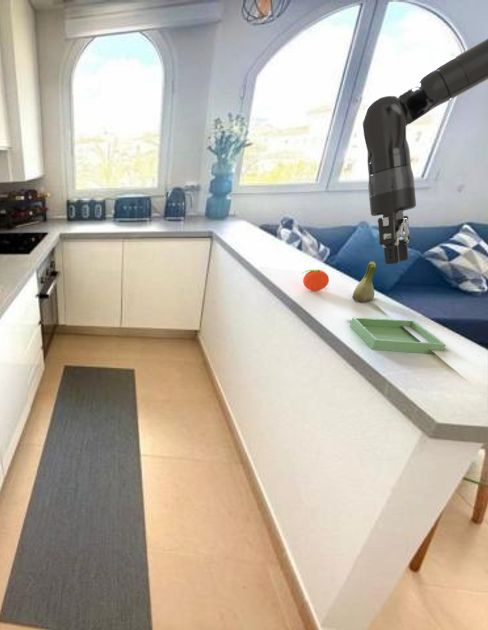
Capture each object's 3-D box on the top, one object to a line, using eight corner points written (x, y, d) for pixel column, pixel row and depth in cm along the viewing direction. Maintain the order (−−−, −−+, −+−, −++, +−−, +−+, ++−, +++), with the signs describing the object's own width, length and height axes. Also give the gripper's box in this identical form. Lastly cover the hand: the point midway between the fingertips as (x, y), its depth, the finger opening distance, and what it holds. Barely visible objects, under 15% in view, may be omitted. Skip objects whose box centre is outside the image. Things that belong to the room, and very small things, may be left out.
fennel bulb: (357, 296, 108) (369, 259, 103) (375, 301, 104) (389, 263, 99) (347, 300, 106) (359, 263, 100) (365, 305, 102) (379, 267, 96)
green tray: (410, 329, 88) (413, 320, 87) (441, 354, 78) (446, 344, 77) (349, 325, 92) (352, 317, 91) (371, 349, 82) (375, 340, 80)
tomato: (295, 291, 114) (300, 270, 111) (298, 284, 119) (303, 264, 116) (325, 295, 110) (330, 274, 107) (326, 288, 115) (332, 268, 112)
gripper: (406, 184, 71) (413, 262, 72) (421, 187, 79) (426, 257, 80) (360, 195, 77) (367, 267, 78) (378, 197, 85) (384, 262, 86)
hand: (397, 262), depth 79 cm, fingers open, 8 cm apart
